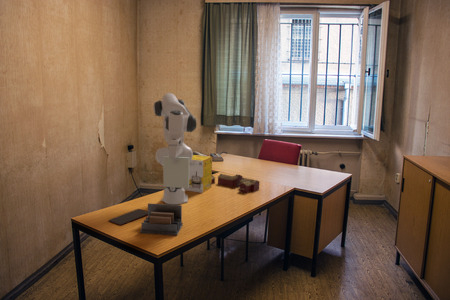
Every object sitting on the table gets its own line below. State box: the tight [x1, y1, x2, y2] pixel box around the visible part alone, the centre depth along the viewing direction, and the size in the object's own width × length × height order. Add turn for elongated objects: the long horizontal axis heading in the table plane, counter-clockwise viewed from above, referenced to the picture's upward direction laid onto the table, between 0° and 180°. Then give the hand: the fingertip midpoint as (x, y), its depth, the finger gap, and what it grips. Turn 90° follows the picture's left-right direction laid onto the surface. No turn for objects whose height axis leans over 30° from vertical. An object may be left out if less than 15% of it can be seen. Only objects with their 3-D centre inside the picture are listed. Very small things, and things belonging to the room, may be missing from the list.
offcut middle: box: [150, 212, 174, 222], centre depth 210 cm, size 2×13×8 cm, turn 84°
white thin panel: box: [162, 156, 189, 188], centre depth 214 cm, size 2×15×18 cm, turn 85°
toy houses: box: [211, 173, 260, 194], centre depth 297 cm, size 45×20×10 cm, turn 56°
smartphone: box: [108, 208, 148, 227], centre depth 226 cm, size 12×2×25 cm
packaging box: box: [184, 154, 213, 194], centre depth 287 cm, size 16×16×25 cm
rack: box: [139, 203, 184, 237], centre depth 209 cm, size 15×21×12 cm
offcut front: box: [149, 216, 171, 224], centre depth 206 cm, size 2×12×7 cm, turn 85°
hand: (176, 162), depth 213 cm, fingers closed on white thin panel, 2 cm apart
